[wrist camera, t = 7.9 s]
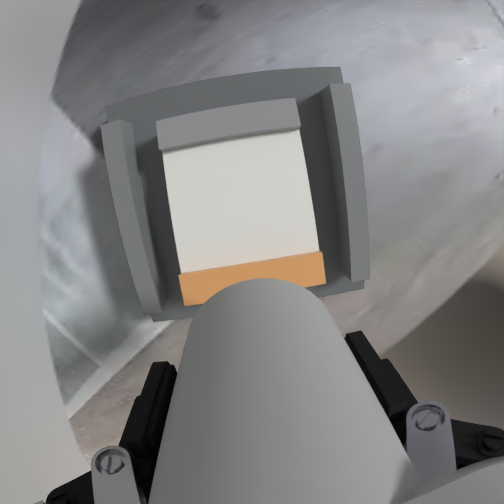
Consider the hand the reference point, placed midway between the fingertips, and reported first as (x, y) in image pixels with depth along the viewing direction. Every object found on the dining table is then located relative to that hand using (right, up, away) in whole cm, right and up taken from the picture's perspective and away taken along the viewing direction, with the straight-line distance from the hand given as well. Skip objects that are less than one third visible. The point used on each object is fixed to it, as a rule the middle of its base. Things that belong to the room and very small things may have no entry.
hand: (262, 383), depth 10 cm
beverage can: (0, +1, +3) cm, 3 cm away
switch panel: (-1, +10, +14) cm, 17 cm away
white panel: (-1, +8, +9) cm, 12 cm away
